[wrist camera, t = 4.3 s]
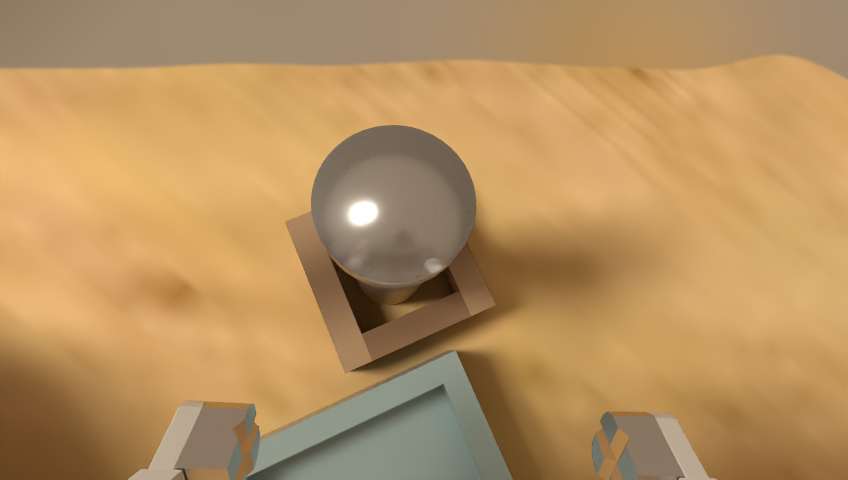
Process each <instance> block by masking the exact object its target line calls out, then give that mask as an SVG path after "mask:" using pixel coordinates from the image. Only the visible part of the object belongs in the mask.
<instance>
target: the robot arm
mask: <svg viewBox="0 0 848 480" xmlns="http://www.w3.org/2000/svg"><path fill="white" fill-rule="evenodd" d="M255 416H256V410H255V406H254V404H244V403H224V402H204V401H184V402H183V403H182V404H181V405H180V406H179V407H178V409H177V411H176V413H175V415H174V417H173V419H172V421H171V423H170V425H169V427H168V429H167V431H166V433H165V435H164V437H163V439H162V441H161V443H160V445H159V447H158V449H157V452H156V454H155V456H154V458H153V460H152V462H151V464H150V466H149V468H148V469H140V470H139V471H138V472H136V473H135V474H134V475H133V476H131V477H130V478H129V479H128V480H247V478H246V476H247V475H248V474H250V473H251V472H252V471H253V470H254V468H255V464H256V461H257V457H258V451H259V444H260V432H259V426H258V425H256V424H255V423H254V419H255ZM600 422H601V424H602V427H603V429H601V430H600V431H598V432H597V433H596V434H595V436H594V439H593V442H592V457H593V463H594V466H595V469H596V472H597V475H598V476H599V477H600V478H601V479H602V480H717V479H716V478H709V477H708V475H707V473H706V471H705V470H704V468H703V466H702V464H701V462H700V461H699V459H698V457H697V455H696V454H695V452H694V450H693V448H692V446H691V445H690V443H689V441H688V439H687V438H686V436H685V434H684V432H683V430H682V429H681V427H680V425H679V423H678V422H677V420H676V418H675V417H674V416H673V415H672V414H671V413H647V412H606V413H605V414H603V417H602V419H601V421H600Z"/></svg>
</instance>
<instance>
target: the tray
mask: <svg viewBox="0 0 848 480" xmlns="http://www.w3.org/2000/svg"><path fill="white" fill-rule="evenodd" d="M246 478H247V480H513V479H512V476H511V474H510V472H509V470H508V467H507V465H506V463H505V461H504V458H503V456H502V454H501V452H500V449H499V447H498V445H497V443H496V440H495V438H494V436H493V434H492V431H491V429H490V427H489V425H488V422H487V420H486V418H485V416H484V413H483V411H482V409H481V407H480V404H479V402H478V400H477V398H476V395H475V393H474V391H473V389H472V386H471V384H470V382H469V380H468V377H467V375H466V373H465V371H464V368H463V366H462V364H461V362H460V359H459V357H458V355H457V353H456V350H448V351H446V352H443V353H441V354H439V355H437V356H435V357H433V358H430V359H428V360H426V361H424V362H422V363H420V364H418V365H415V366H413V367H411V368H409V369H407V370H405V371H402V372H400V373H398V374H396V375H394V376H392V377H389V378H387V379H385V380H383V381H381V382H379V383H376V384H374V385H372V386H370V387H368V388H366V389H363V390H361V391H359V392H357V393H355V394H353V395H350V396H348V397H346V398H344V399H342V400H340V401H337V402H335V403H333V404H331V405H329V406H327V407H324V408H322V409H320V410H318V411H316V412H314V413H311V414H309V415H307V416H305V417H303V418H301V419H298V420H296V421H294V422H292V423H290V424H288V425H285V426H283V427H281V428H279V429H277V430H275V431H272V432H270V433H268V434H266V435H264V436H262V437H260V444H259V451H258V457H257V461H256V464H255V468H254V470H253V471H252V472H251V473H250V474H248V475H247V476H246Z"/></svg>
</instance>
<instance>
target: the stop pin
mask: <svg viewBox="0 0 848 480" xmlns="http://www.w3.org/2000/svg"><path fill="white" fill-rule="evenodd" d="M311 210H312V217H313V222H314V225H315V228H316V231H317V233H318V236H319V238H320V240H321V242H322V243H323V245H324V247H325V249H326V250H327V252H328V253H329V255H330V256H331V258H332V259H333V260H334V261H335V262H336V263H337V265H338V266H339V267H341V268H342V269H343V270H344V271H345V272H346V273H348V274H349V275H351V276H353V277H354V278H356V279H357V281H358V284H359V286H360V288H361V289H362V291H363V292H364V293H365V294H366V295H367V296H368V297H369V298H370V299H372V300H374V301H376V302H378V303H381V304H397V303H401V302H403V301H405V300H407V299H409V298H410V297H411V296H412V295H414V293H415V292H416V291H417V290H418V288H419V286H420V285H421V283H423V282H425V281H427V280H429V279H431V278H433V277H435V276H436V275H438V274H439V273H441V272H442V271H443V270H444V269H445V268H446V267H447V266H449V265H450V263H451V262H452V261H453V260H454V259H455V257H456V256H457V255H458V254H459V252H460V251H461V250H462V248H463V247H464V245H465V243H466V242H467V240H468V238H469V235H470V233H471V231H472V228H473V224H474V220H475V214H476V196H475V190H474V186H473V182H472V179H471V177H470V174H469V172H468V170H467V168H466V166H465V165H464V163H463V162H462V160H461V159H460V158H459V156H458V155H457V154H456V153H455V152H454V151H453V150H452V149H451V148H450V147H449V146H448V145H447V144H445V143H444V142H443V141H442V140H440V139H438V138H437V137H435V136H434V135H431V134H429V133H427V132H425V131H422V130H419V129H416V128H412V127H407V126H398V125H388V126H379V127H373V128H370V129H366V130H363V131H361V132H359V133H356V134H354V135H352V136H351V137H349V138H347V139H346V140H344V141H343V142H342V143H340V144H339V145H338V146H337V147H336V148H335V149H334V150H333V151H332V152H331V153H330V154H329V155H328V156H327V158H326V159H325V160H324V162H323V163H322V165H321V167H320V169H319V171H318V173H317V176H316V178H315V181H314V185H313V189H312V197H311Z"/></svg>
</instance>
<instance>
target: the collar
mask: <svg viewBox="0 0 848 480" xmlns="http://www.w3.org/2000/svg"><path fill="white" fill-rule="evenodd" d="M285 223H286V226H287V228H288V231H289V233H290V236H291V238H292V241H293V243H294V246H295V248H296V251H297V253H298V256H299V258H300V261H301V263H302V266H303V268H304V271H305V273H306V276H307V278H308V281H309V283H310V286H311V288H312V291H313V293H314V296H315V298H316V301H317V303H318V306H319V308H320V311H321V313H322V316H323V318H324V321H325V323H326V326H327V328H328V331H329V333H330V336H331V338H332V341H333V343H334V346H335V348H336V351H337V353H338V356H339V359H340V361H341V364H342V366H343V369H344V371H345V373H347V372H349V371H352V370H354V369H356V368H358V367H360V366H363V365H365V364H367V363H369V362H371V361H374V360H376V359H378V358H380V357H382V356H385V355H387V354H389V353H391V352H393V351H396V350H398V349H400V348H402V347H404V346H407V345H409V344H411V343H413V342H416V341H418V340H420V339H422V338H424V337H427V336H429V335H431V334H433V333H435V332H438V331H440V330H442V329H444V328H446V327H449V326H451V325H453V324H455V323H457V322H460V321H462V320H464V319H466V318H468V317H471V316H473V315H475V314H477V313H480V312H482V311H484V310H486V309H488V308H491V307H493V306H495V305H496V304H495V302H494V300H493V297H492V295H491V293H490V291H489V289H488V287H487V285H486V283H485V280H484V278H483V276H482V274H481V272H480V270H479V268H478V265H477V263H476V261H475V259H474V257H473V255H472V253H471V250H470V248H469V246H468V244H467V242H466V243H465V245H464V247H463V248H462V250H461V251H460V252H459V254H458V255H457V256H456V257H455V259H454V260H453V261H452V262H451V263H450V265H449V266H447V267H446V268H445V269H444V270H443V271H442V272H443V274H444V276H445V279H446V281H447V283H448V285H449V287H450V290H451V292H452V294H451V295H449V296H447V297H444V298H442V299H440V300H438V301H435V302H433V303H431V304H429V305H426V306H424V307H422V308H419V309H417V310H415V311H413V312H410V313H408V314H406V315H404V316H401V317H399V318H397V319H395V320H392V321H390V322H388V323H386V324H383V325H381V326H379V327H376V328H374V329H372V330H370V331H367V332H365V333H363V334H362V331H361V329H360V326H359V324H358V321H357V319H356V316H355V314H354V312H353V309H352V307H351V304H350V302H349V299H348V297H347V295H346V292H345V290H344V287H343V285H342V282H341V280H340V278H339V275H338V273H337V270H336V268H335V265H334V263H333V261H332V258H331V256H330V255H329V253H328V252H327V250H326V249H325V247H324V245H323V243H322V242H321V240H320V238H319V236H318V233H317V231H316V228H315V225H314V222H313V217H312V211H311V212H309V213H306V214H304V215H301V216H299V217H296V218H293V219H291V220H288V221H286V222H285Z"/></svg>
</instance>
